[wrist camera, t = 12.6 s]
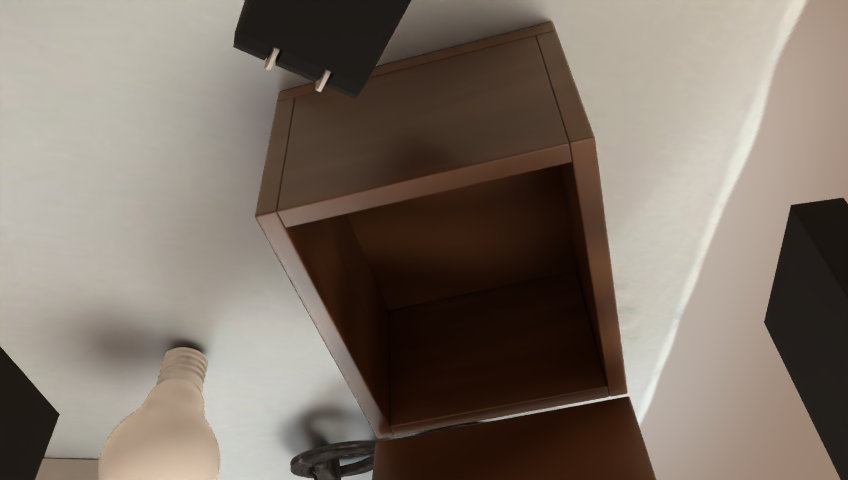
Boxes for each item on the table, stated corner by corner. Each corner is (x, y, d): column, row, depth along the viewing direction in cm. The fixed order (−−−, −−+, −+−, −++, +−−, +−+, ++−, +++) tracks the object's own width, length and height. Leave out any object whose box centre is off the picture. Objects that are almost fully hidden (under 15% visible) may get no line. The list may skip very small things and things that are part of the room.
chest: (278, 91, 35) (253, 216, 28) (552, 20, 33) (594, 136, 26) (378, 311, 45) (377, 439, 38) (590, 266, 43) (628, 394, 37)
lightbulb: (258, 367, 48) (233, 531, 40) (175, 393, 50) (134, 556, 42) (201, 307, 44) (160, 475, 36) (113, 337, 46) (55, 505, 38)
